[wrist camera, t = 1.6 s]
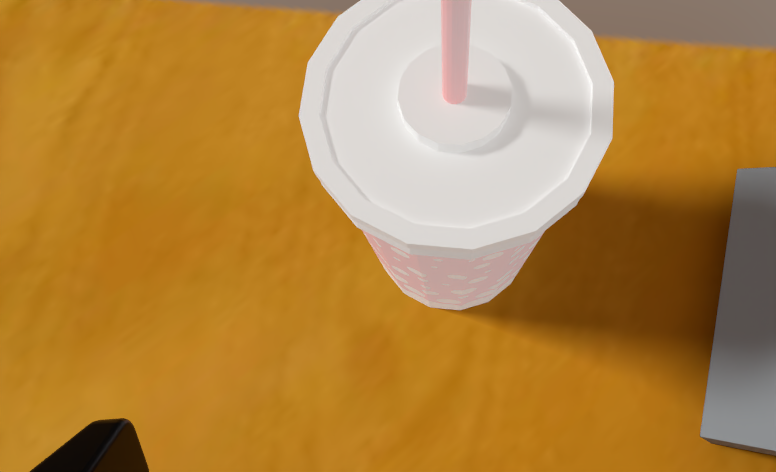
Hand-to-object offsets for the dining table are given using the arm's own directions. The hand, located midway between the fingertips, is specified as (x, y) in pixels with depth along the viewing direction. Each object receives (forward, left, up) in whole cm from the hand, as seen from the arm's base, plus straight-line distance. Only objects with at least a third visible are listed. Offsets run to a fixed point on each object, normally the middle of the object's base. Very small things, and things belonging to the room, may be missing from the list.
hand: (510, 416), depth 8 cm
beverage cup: (+5, -4, -13) cm, 14 cm away
